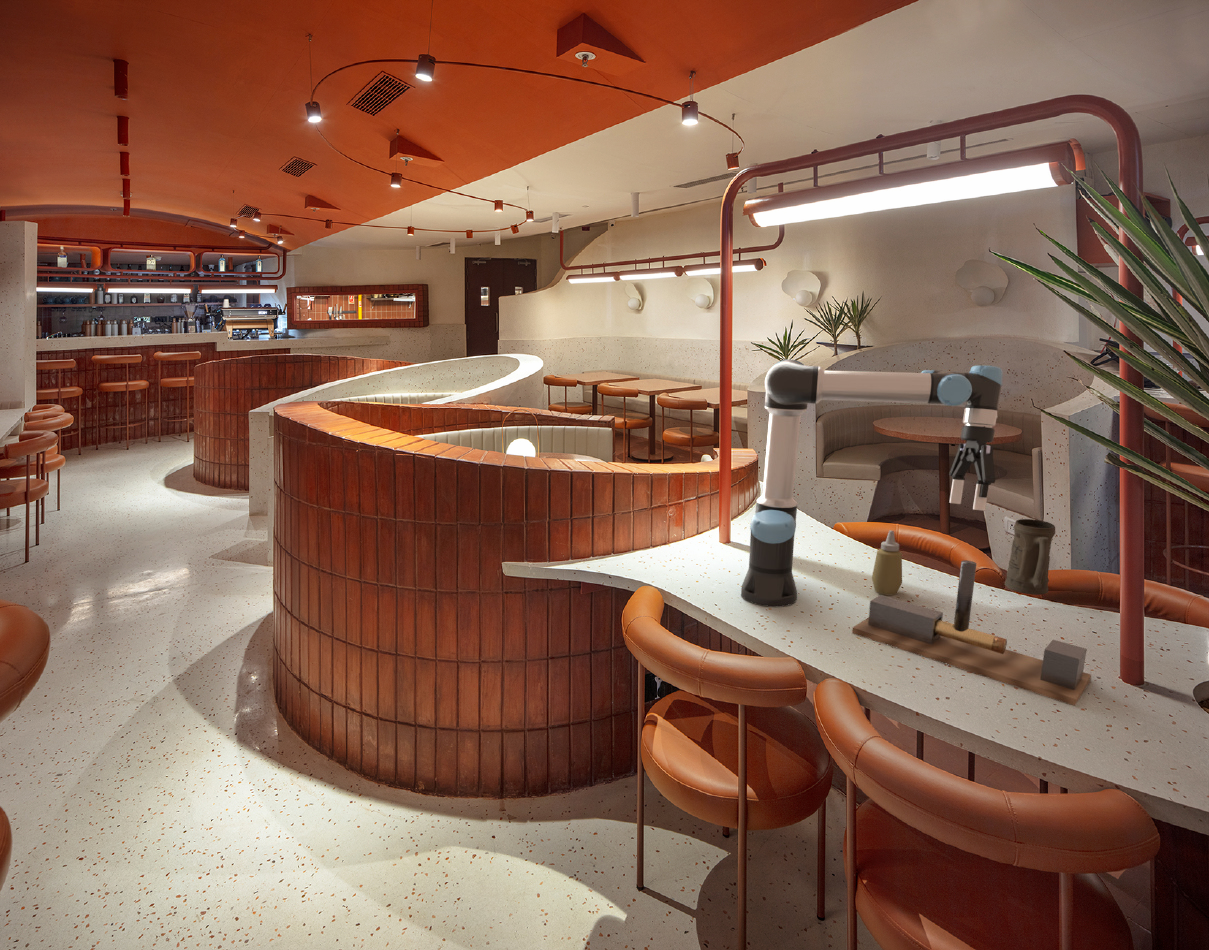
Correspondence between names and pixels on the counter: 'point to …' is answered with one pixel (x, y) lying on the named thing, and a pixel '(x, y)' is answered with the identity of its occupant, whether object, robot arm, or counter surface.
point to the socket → (1063, 664)
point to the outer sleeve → (904, 618)
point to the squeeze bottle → (888, 567)
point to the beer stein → (1030, 557)
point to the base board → (980, 662)
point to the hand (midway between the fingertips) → (966, 506)
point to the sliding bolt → (968, 616)
